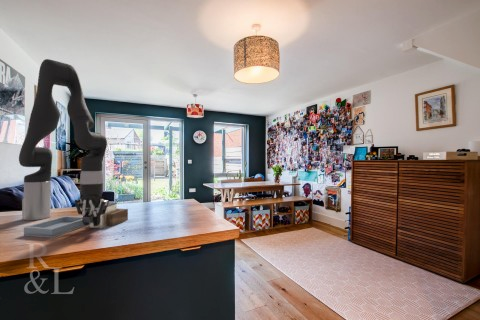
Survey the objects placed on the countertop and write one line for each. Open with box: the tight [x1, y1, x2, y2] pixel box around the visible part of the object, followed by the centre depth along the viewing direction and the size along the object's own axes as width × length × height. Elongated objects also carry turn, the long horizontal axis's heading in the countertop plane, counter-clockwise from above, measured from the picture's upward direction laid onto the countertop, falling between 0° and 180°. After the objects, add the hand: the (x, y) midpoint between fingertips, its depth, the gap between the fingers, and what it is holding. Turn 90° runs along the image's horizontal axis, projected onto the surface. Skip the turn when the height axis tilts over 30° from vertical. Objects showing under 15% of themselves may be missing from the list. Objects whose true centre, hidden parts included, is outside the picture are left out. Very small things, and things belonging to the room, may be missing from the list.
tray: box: [23, 215, 90, 239], centre depth 86 cm, size 12×16×3 cm
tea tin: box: [81, 201, 118, 229], centre depth 91 cm, size 5×13×9 cm, turn 171°
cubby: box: [108, 207, 129, 227], centre depth 97 cm, size 10×10×5 cm
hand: (91, 225), depth 87 cm, fingers closed on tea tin, 3 cm apart
